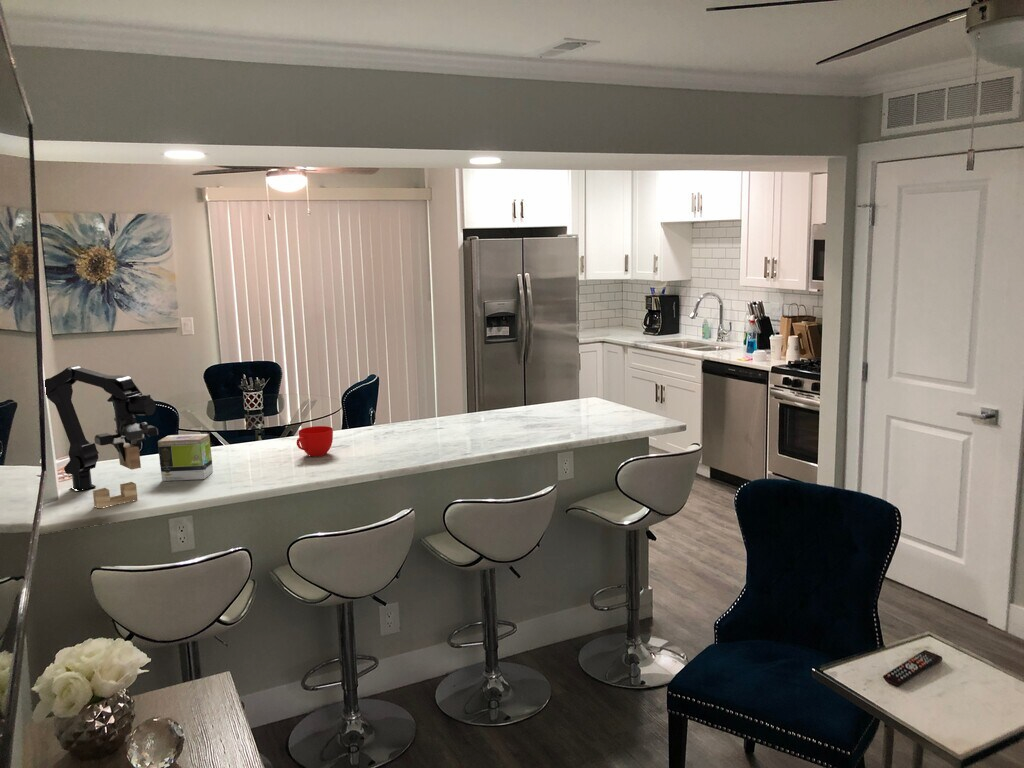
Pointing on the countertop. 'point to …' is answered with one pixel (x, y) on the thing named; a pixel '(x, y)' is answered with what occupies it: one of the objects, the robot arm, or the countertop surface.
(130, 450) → the tan wooden beam
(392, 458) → the countertop surface
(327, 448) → the ceramic cup
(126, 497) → the u-shaped oak block
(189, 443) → the tea box
